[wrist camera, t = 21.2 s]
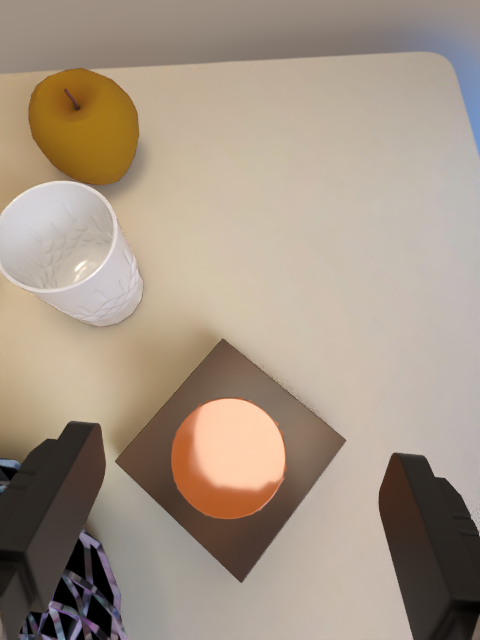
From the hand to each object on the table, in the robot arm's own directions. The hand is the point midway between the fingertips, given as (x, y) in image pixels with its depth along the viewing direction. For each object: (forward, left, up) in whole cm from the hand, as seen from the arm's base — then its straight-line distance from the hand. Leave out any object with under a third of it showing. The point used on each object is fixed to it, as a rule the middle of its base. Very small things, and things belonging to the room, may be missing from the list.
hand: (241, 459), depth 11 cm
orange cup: (0, +1, -19) cm, 19 cm away
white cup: (+17, -2, -21) cm, 27 cm away
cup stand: (0, +1, -21) cm, 21 cm away
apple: (+26, -11, -21) cm, 36 cm away
